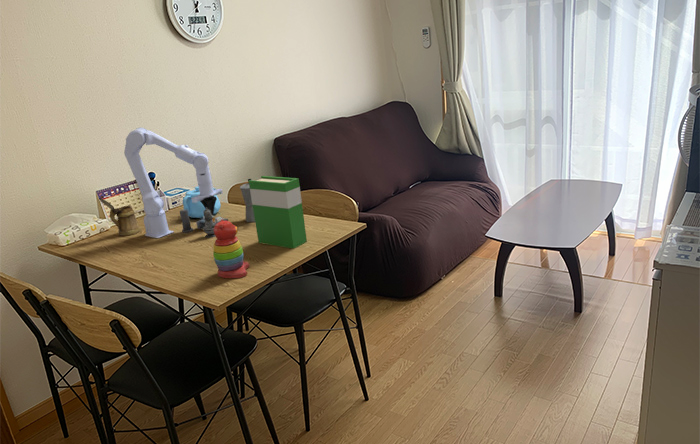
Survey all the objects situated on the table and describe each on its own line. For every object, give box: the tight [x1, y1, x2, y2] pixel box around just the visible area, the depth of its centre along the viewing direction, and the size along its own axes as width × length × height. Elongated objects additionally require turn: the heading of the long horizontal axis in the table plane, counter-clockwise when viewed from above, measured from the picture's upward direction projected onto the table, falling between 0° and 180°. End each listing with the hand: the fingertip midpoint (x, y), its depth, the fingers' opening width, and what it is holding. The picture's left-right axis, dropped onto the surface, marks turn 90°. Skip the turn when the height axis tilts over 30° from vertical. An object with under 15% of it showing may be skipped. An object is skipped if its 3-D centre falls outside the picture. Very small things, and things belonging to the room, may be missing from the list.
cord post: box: [179, 209, 194, 234], centre depth 217 cm, size 4×4×9 cm
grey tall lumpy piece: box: [202, 207, 216, 239], centre depth 207 cm, size 6×6×12 cm
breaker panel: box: [196, 215, 229, 230], centre depth 219 cm, size 11×8×4 cm
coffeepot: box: [239, 178, 255, 223], centre depth 221 cm, size 15×9×18 cm, turn 37°
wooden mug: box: [99, 197, 142, 237], centre depth 220 cm, size 9×14×18 cm, turn 139°
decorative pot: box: [182, 185, 222, 220], centre depth 237 cm, size 16×16×14 cm
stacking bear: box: [213, 219, 250, 279], centre depth 167 cm, size 11×10×18 cm
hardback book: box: [248, 175, 308, 250], centre depth 190 cm, size 18×7×24 cm, turn 55°
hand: (211, 214), depth 218 cm, fingers closed
